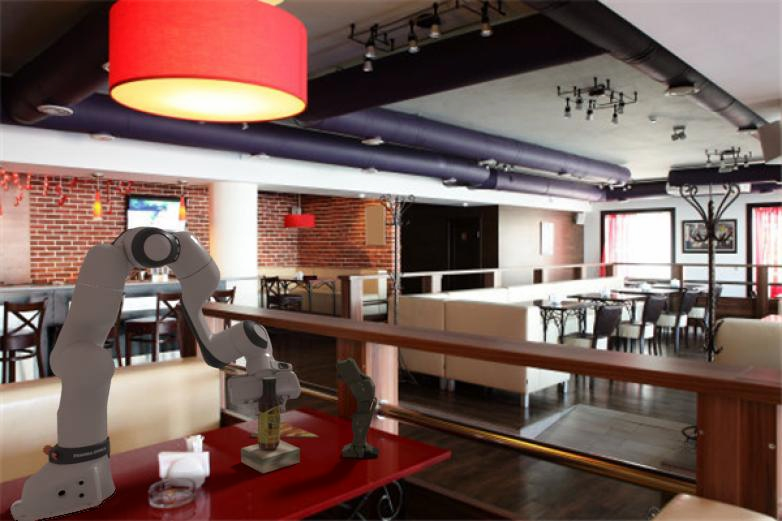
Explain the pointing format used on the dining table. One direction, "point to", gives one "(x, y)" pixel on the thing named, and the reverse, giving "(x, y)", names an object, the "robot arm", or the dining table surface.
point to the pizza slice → (289, 431)
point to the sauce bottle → (269, 415)
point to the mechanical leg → (359, 408)
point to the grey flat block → (270, 457)
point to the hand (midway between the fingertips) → (270, 413)
